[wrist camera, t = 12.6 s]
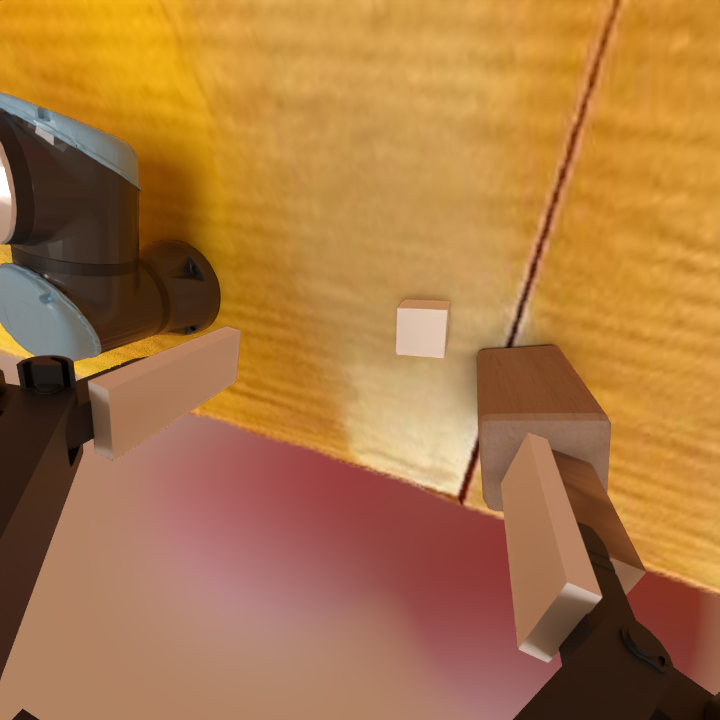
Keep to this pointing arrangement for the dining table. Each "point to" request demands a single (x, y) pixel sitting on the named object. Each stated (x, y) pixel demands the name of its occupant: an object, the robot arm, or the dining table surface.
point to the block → (535, 412)
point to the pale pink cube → (422, 328)
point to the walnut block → (599, 516)
